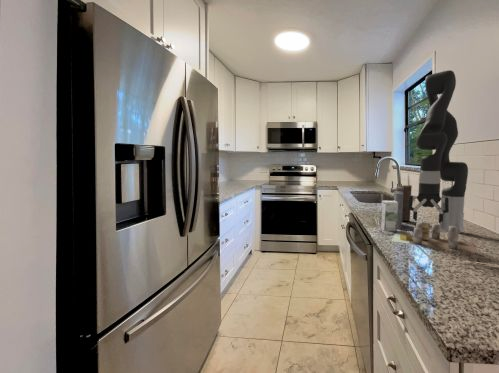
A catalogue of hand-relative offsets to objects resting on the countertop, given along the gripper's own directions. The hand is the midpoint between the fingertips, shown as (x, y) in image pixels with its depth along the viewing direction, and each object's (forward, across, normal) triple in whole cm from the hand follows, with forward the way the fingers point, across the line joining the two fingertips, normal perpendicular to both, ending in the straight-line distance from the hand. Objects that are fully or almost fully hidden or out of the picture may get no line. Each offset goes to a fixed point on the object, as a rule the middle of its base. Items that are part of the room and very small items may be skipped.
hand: (427, 221), depth 132 cm
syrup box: (+9, +17, -17) cm, 26 cm away
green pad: (+9, +9, 0) cm, 13 cm away
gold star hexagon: (+8, +8, +1) cm, 11 cm away
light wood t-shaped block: (+5, +1, -3) cm, 6 cm away
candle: (+10, +14, -48) cm, 51 cm away
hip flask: (+10, +14, -32) cm, 36 cm away
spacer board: (+9, -5, 0) cm, 11 cm away
